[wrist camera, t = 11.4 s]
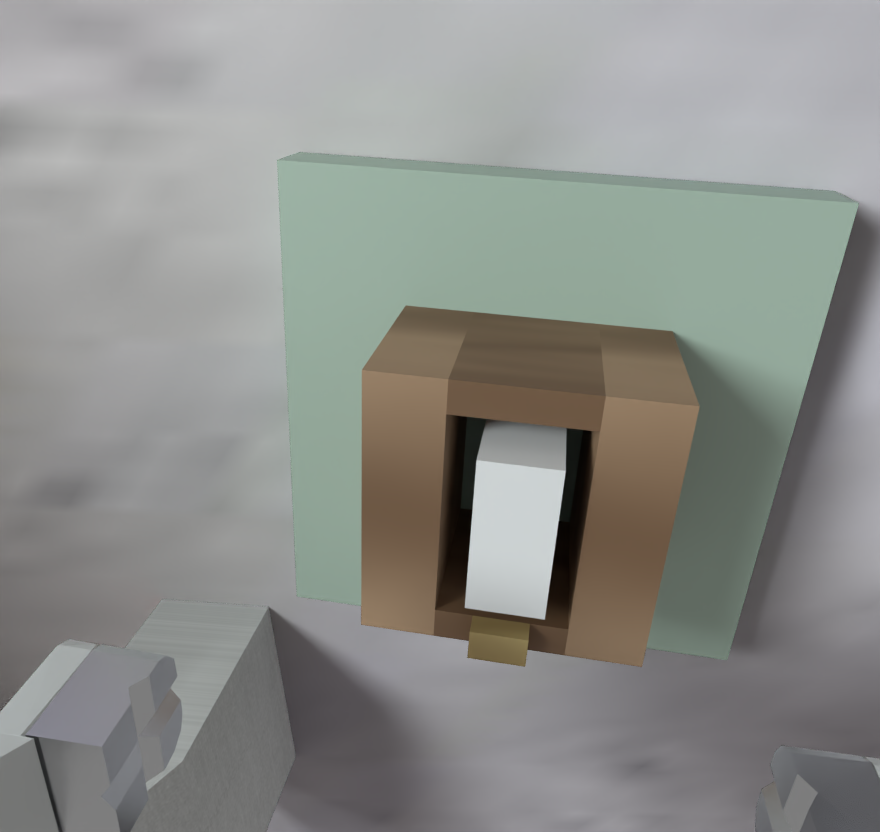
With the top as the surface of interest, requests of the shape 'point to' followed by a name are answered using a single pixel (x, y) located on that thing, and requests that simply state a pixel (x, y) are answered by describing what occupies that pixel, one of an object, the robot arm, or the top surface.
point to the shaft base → (568, 299)
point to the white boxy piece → (219, 719)
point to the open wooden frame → (533, 402)
